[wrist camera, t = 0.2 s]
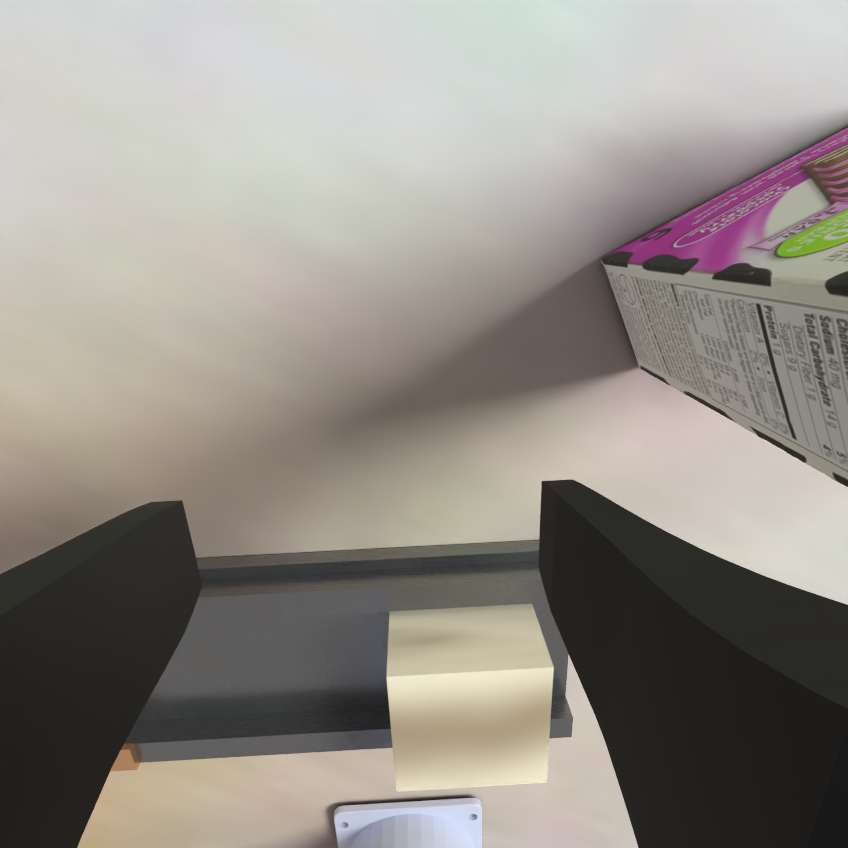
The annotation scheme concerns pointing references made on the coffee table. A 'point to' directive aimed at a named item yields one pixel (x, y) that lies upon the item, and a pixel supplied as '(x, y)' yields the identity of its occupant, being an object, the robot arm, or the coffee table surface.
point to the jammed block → (468, 697)
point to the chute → (318, 647)
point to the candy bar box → (753, 304)
